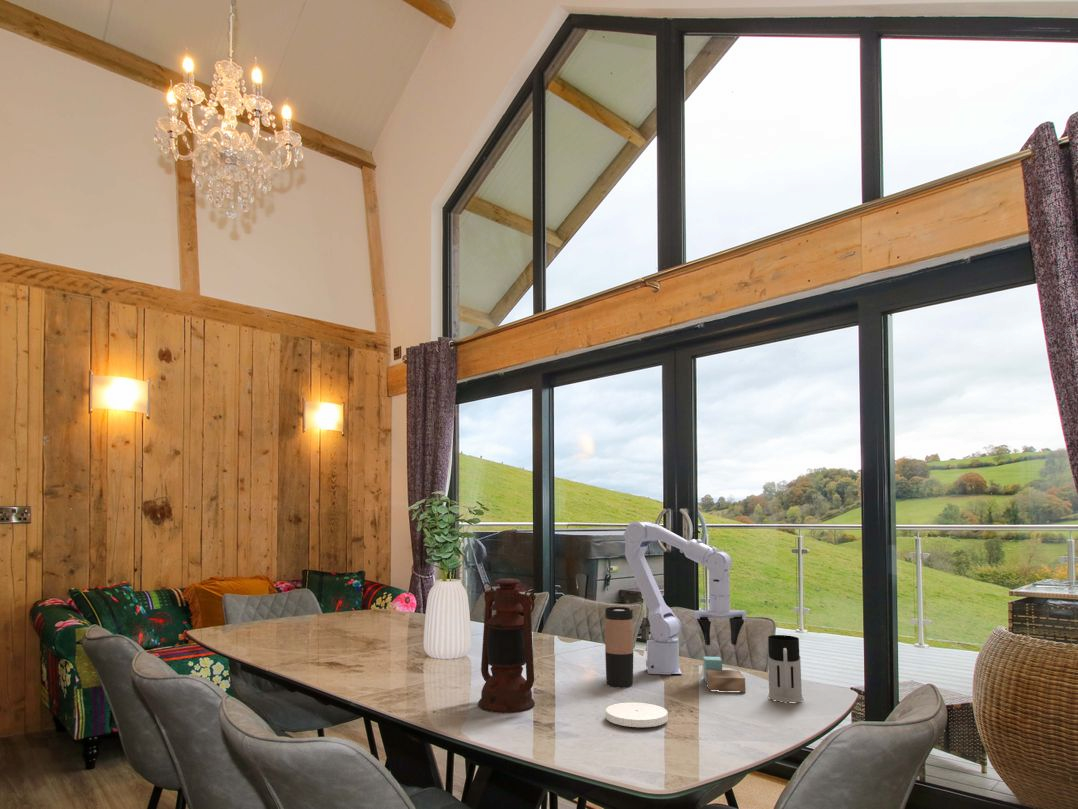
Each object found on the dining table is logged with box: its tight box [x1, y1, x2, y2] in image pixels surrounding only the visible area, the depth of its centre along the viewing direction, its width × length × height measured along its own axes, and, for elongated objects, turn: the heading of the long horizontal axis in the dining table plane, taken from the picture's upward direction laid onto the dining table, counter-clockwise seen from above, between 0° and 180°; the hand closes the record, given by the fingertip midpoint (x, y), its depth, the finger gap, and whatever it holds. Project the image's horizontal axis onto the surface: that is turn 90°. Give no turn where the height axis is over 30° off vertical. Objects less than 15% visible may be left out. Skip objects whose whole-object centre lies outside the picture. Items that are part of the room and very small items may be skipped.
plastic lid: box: [605, 701, 669, 728], centre depth 168 cm, size 14×14×2 cm
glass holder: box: [767, 634, 805, 703], centre depth 186 cm, size 9×14×15 cm, turn 164°
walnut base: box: [705, 669, 746, 693], centre depth 198 cm, size 9×9×4 cm
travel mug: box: [604, 606, 634, 688], centre depth 202 cm, size 8×8×20 cm
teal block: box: [702, 656, 723, 681], centre depth 206 cm, size 4×4×6 cm
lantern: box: [477, 577, 537, 714], centre depth 183 cm, size 17×14×30 cm
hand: (720, 644), depth 209 cm, fingers open, 7 cm apart
